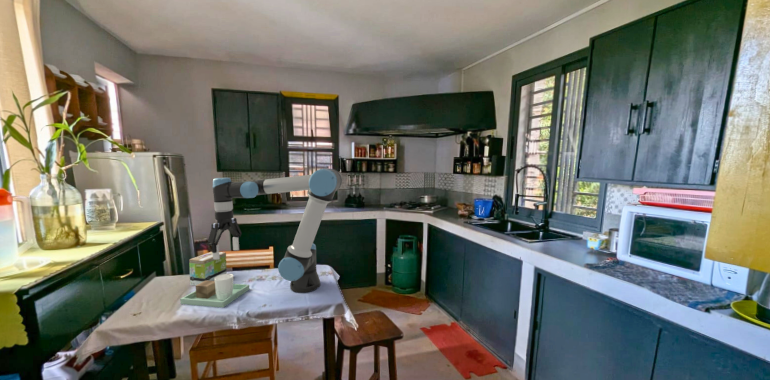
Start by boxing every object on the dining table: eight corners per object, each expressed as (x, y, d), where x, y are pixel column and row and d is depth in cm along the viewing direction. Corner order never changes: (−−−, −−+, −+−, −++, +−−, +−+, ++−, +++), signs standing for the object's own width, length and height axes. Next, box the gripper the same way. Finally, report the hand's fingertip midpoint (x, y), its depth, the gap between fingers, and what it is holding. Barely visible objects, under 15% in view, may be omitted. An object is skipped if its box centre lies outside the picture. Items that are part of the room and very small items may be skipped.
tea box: (206, 288, 146) (204, 260, 144) (189, 286, 148) (187, 259, 146) (227, 276, 160) (226, 251, 159) (212, 275, 162) (211, 250, 161)
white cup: (229, 291, 140) (228, 272, 139) (237, 296, 135) (236, 276, 134) (212, 298, 133) (211, 277, 133) (220, 302, 129) (219, 281, 128)
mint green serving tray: (249, 290, 143) (249, 284, 143) (223, 308, 125) (222, 302, 124) (211, 287, 146) (211, 282, 146) (180, 305, 128) (180, 298, 128)
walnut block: (217, 293, 139) (216, 281, 138) (207, 298, 133) (206, 286, 132) (206, 292, 140) (205, 280, 139) (196, 297, 134) (195, 285, 133)
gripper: (234, 206, 145) (236, 246, 147) (195, 215, 120) (199, 263, 122) (247, 206, 144) (250, 247, 146) (211, 215, 119) (214, 263, 121)
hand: (226, 254), depth 134 cm, fingers open, 13 cm apart
